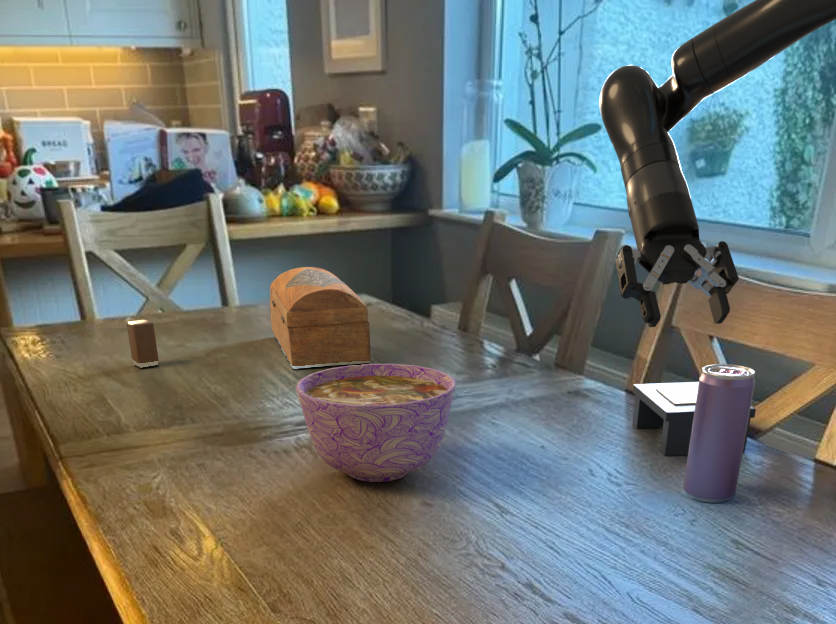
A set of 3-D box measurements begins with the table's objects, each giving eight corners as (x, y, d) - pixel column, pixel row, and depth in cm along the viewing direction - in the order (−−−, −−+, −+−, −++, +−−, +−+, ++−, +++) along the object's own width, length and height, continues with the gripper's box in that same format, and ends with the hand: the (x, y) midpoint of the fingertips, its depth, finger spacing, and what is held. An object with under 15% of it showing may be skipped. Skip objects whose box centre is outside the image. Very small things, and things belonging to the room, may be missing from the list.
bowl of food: (300, 449, 126) (295, 366, 120) (442, 442, 127) (443, 360, 122) (302, 503, 108) (295, 409, 103) (466, 495, 110) (469, 401, 104)
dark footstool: (708, 421, 134) (714, 379, 131) (748, 452, 121) (756, 407, 118) (628, 424, 133) (633, 382, 130) (660, 456, 121) (666, 411, 118)
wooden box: (376, 364, 167) (374, 286, 161) (288, 370, 165) (282, 291, 158) (348, 331, 193) (346, 263, 187) (271, 336, 190) (266, 267, 184)
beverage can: (727, 507, 105) (749, 379, 98) (676, 498, 108) (694, 372, 101) (740, 491, 109) (762, 367, 102) (690, 482, 112) (709, 361, 105)
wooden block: (139, 369, 168) (133, 325, 164) (132, 365, 171) (125, 321, 167) (160, 366, 170) (154, 322, 166) (152, 362, 173) (146, 319, 169)
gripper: (617, 191, 110) (644, 306, 105) (727, 187, 111) (758, 300, 107) (597, 233, 117) (622, 342, 112) (701, 228, 119) (729, 336, 114)
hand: (688, 321), depth 110 cm, fingers open, 8 cm apart
